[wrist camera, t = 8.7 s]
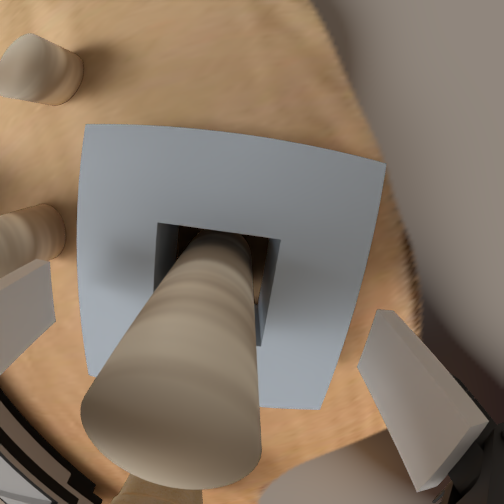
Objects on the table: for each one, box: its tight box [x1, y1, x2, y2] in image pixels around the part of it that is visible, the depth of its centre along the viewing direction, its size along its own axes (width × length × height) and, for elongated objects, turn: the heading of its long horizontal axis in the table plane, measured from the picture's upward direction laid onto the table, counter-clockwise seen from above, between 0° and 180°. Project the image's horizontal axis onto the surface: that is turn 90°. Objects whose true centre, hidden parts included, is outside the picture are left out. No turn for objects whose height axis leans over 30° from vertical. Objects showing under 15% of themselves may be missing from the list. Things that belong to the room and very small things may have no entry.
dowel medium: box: [0, 204, 66, 278], centre depth 14 cm, size 4×4×8 cm
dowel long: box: [81, 229, 262, 490], centre depth 12 cm, size 4×4×14 cm
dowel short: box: [0, 34, 84, 106], centre depth 13 cm, size 4×4×5 cm
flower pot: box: [110, 473, 203, 504], centre depth 20 cm, size 9×9×9 cm
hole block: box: [77, 124, 386, 410], centre depth 16 cm, size 14×14×5 cm
